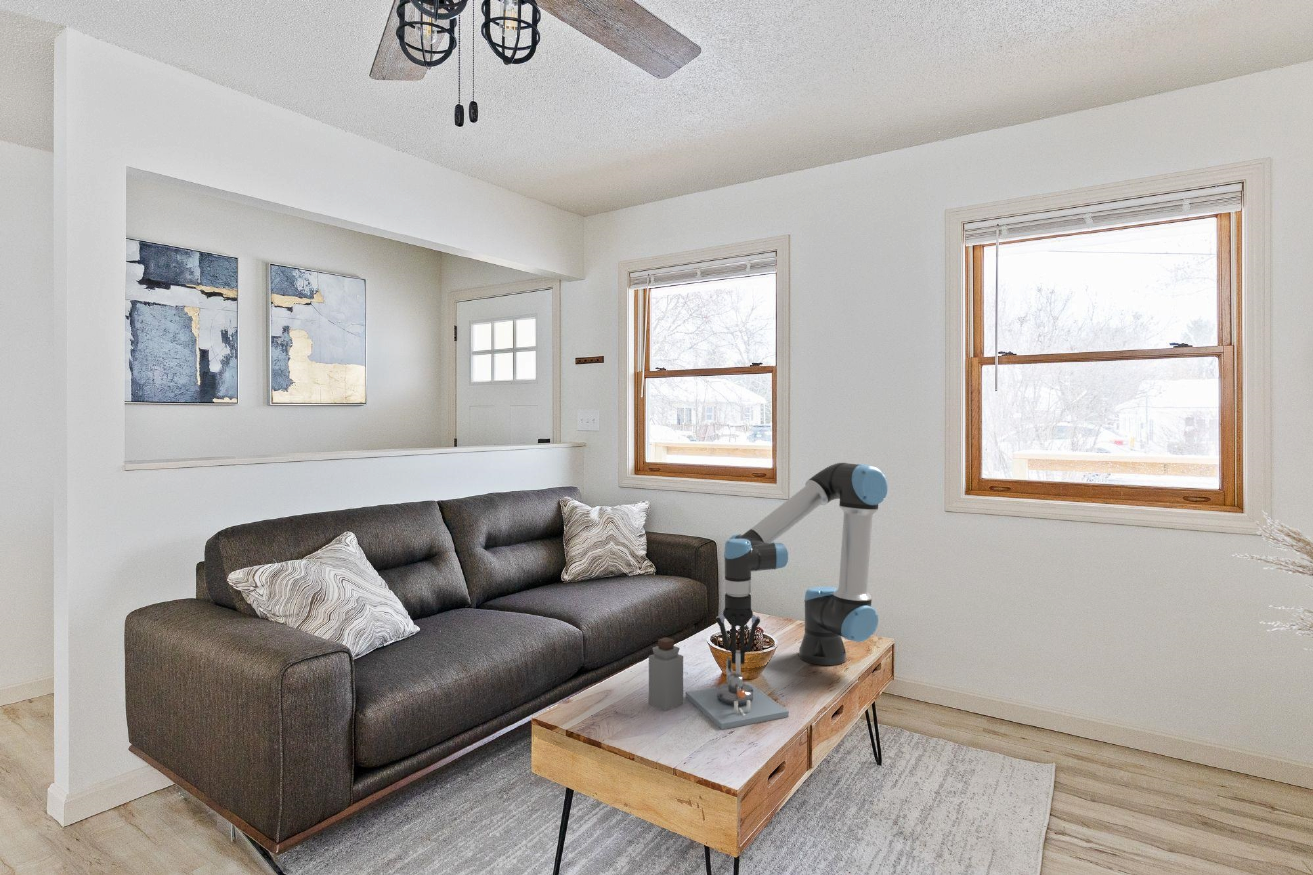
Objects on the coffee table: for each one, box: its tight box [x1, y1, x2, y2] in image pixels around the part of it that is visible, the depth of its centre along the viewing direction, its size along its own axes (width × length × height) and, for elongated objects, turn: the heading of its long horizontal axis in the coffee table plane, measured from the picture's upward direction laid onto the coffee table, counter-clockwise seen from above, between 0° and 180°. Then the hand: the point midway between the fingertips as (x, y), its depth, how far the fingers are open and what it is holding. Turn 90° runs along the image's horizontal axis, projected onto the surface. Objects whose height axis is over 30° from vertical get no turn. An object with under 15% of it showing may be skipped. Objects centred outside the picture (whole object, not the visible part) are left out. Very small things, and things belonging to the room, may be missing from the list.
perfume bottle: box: [648, 636, 684, 712], centre depth 195 cm, size 7×7×18 cm
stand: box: [685, 681, 790, 730], centre depth 193 cm, size 20×22×4 cm
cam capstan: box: [716, 657, 753, 705], centre depth 195 cm, size 20×10×7 cm, turn 4°
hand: (738, 674), depth 203 cm, fingers closed
